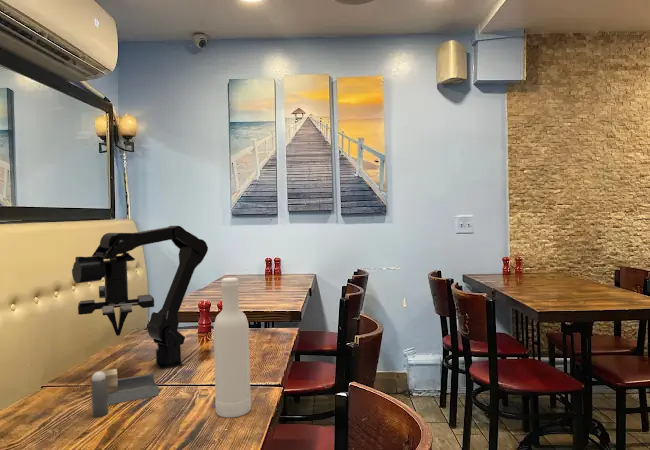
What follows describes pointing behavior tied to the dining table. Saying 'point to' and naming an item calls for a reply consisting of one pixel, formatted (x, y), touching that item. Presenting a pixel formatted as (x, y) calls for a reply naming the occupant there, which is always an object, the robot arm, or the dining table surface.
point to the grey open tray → (133, 389)
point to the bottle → (231, 355)
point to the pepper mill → (99, 394)
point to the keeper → (111, 380)
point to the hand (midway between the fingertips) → (118, 335)
